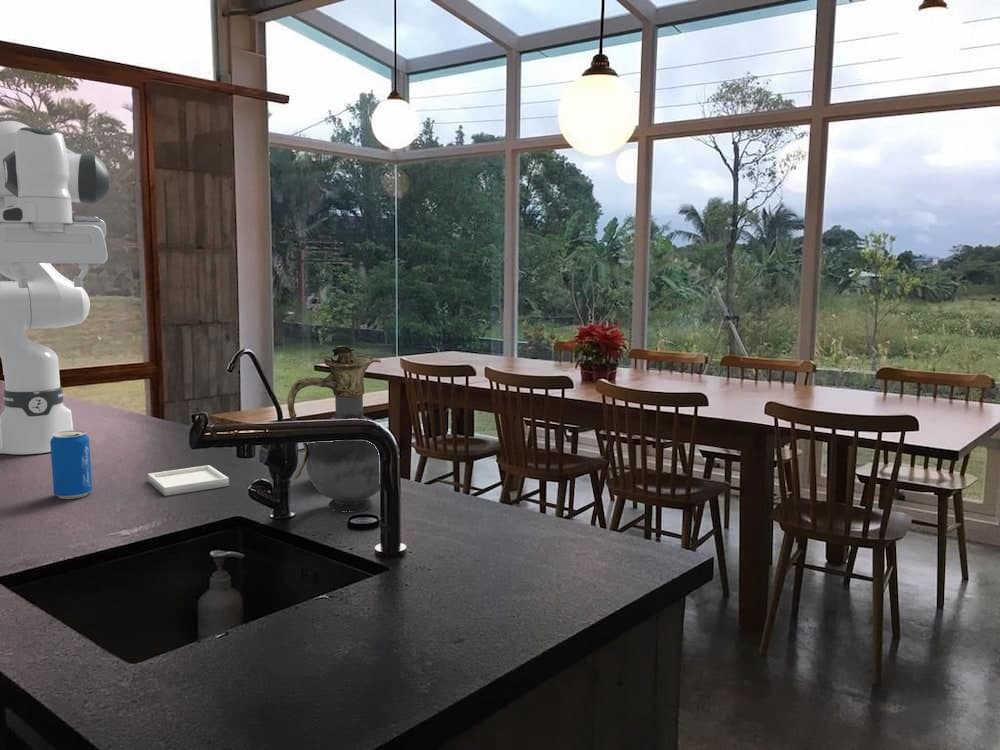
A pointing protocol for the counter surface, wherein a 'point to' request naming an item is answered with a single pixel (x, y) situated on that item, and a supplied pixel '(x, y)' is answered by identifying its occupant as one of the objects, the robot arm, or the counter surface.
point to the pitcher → (342, 464)
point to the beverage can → (71, 464)
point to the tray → (188, 480)
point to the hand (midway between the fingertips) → (51, 287)
